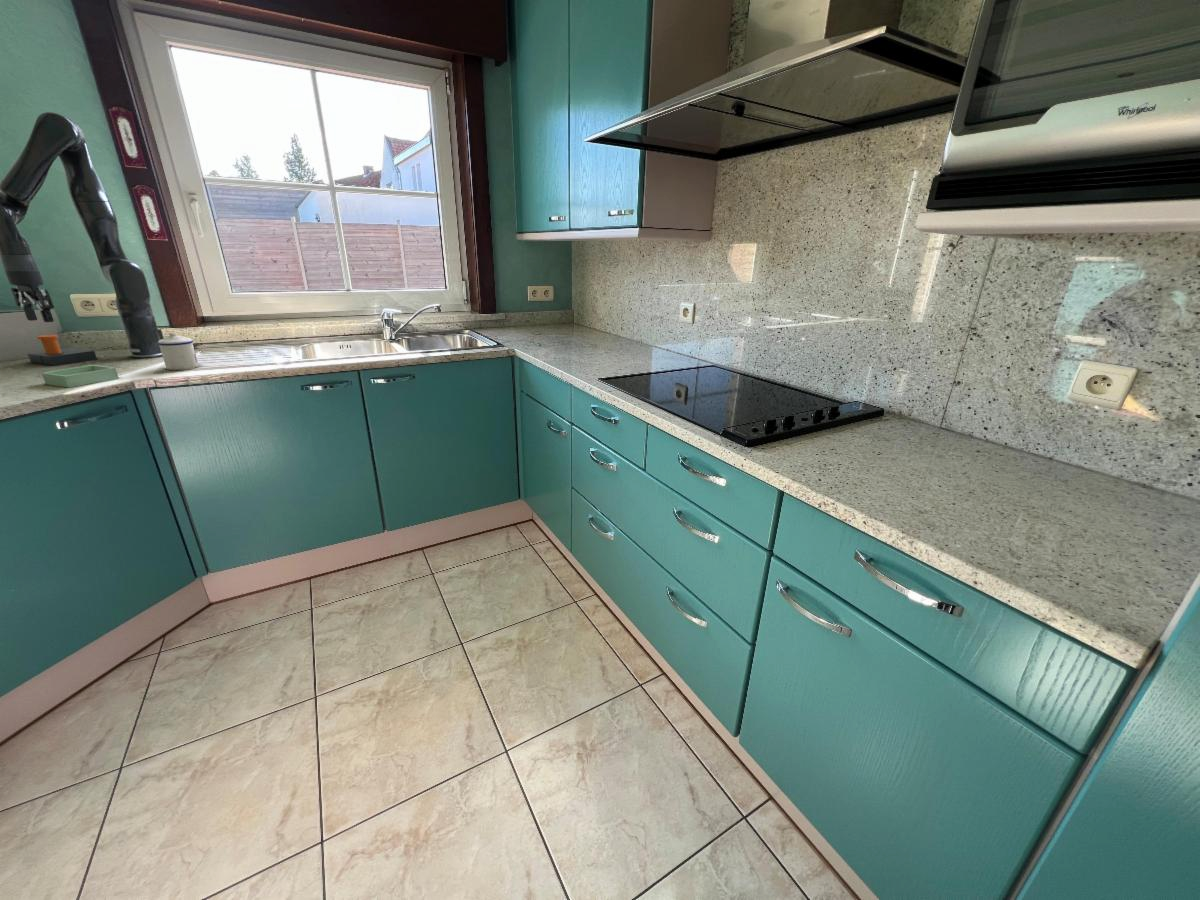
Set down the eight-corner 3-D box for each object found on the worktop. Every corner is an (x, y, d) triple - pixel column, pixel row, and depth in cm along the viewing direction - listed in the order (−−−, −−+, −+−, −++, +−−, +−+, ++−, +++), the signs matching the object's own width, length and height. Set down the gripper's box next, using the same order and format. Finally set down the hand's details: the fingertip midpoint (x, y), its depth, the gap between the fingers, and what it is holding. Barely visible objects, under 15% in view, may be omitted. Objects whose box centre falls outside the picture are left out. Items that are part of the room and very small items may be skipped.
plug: (61, 359, 171) (52, 334, 168) (70, 361, 170) (61, 335, 167) (43, 362, 167) (33, 336, 164) (52, 363, 166) (42, 337, 162)
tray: (96, 375, 153) (93, 364, 152) (118, 378, 151) (115, 367, 149) (45, 384, 143) (41, 372, 141) (68, 387, 140) (64, 376, 139)
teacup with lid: (205, 366, 168) (196, 332, 164) (175, 371, 160) (164, 335, 156) (185, 362, 173) (175, 329, 168) (154, 367, 165) (143, 332, 161)
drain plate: (75, 356, 177) (72, 347, 176) (97, 359, 174) (94, 350, 173) (30, 362, 166) (26, 353, 165) (52, 365, 163) (49, 356, 162)
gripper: (51, 270, 159) (69, 321, 165) (23, 268, 163) (41, 318, 168) (19, 270, 152) (39, 323, 158) (-9, 268, 156) (12, 320, 162)
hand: (40, 321), depth 163 cm, fingers open, 8 cm apart
